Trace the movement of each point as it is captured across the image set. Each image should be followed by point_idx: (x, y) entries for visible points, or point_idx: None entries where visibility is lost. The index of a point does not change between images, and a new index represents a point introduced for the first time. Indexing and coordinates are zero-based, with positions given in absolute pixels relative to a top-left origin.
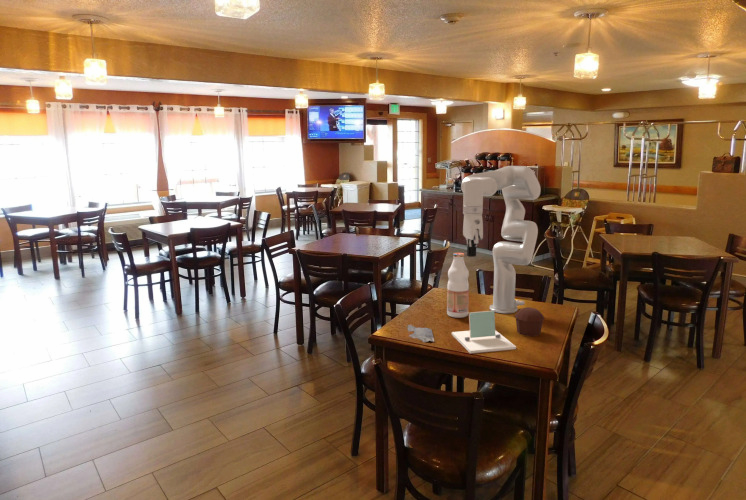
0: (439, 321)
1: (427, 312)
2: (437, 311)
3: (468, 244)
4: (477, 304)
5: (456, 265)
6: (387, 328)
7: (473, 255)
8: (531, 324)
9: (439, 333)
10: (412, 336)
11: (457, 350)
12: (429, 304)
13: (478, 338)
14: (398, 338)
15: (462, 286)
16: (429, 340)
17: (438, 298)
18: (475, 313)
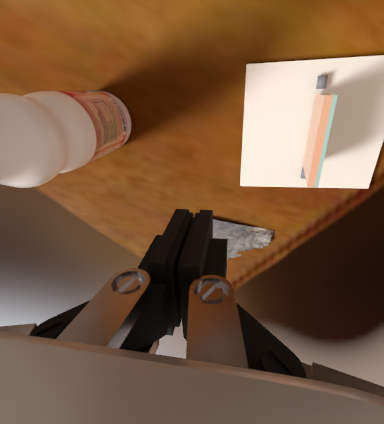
0: (152, 180)
1: (90, 186)
2: None
3: (156, 344)
4: (13, 22)
5: (6, 171)
6: None
7: (211, 233)
8: None
9: (226, 205)
10: (229, 256)
11: (334, 204)
12: None
13: (303, 139)
14: (231, 277)
15: (83, 131)
16: (269, 241)
17: None
18: (321, 168)
